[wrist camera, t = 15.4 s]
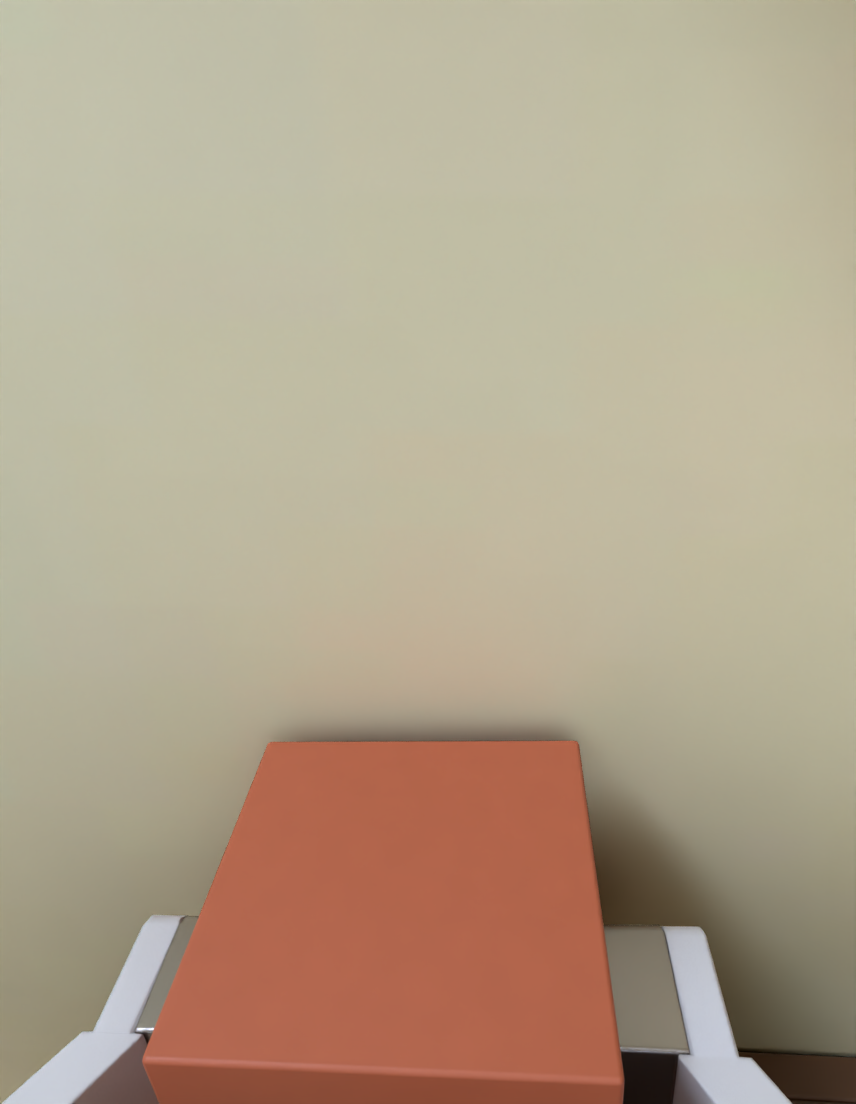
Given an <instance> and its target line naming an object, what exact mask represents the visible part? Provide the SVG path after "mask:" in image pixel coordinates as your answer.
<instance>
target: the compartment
mask: <svg viewBox="0 0 856 1104" xmlns="http://www.w3.org/2000/svg"><path fill="white" fill-rule="evenodd" d="M738 1054H739V1057H748V1058H752V1059H753V1060H754V1061H755V1062H756V1063H757V1064H758V1065H759V1066H760V1068H761V1069H762V1070H763V1071H764V1072H765V1073H766V1074H767V1075H768V1077H769V1078H770V1079H771V1080H772V1081H773V1082H774V1083H775V1085H776V1086H777V1087H778V1088H779V1089H780V1090H781V1091H782V1092H783V1094H784V1095H785V1096H786V1097H787V1098H788V1099H789V1100H790V1101H791V1103H792V1104H856V1058H854V1057H834V1056H814V1055H794V1054H773V1053H753V1052H738Z"/></svg>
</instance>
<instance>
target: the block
mask: <svg viewBox="0 0 856 1104" xmlns="http://www.w3.org/2000/svg"><path fill="white" fill-rule="evenodd" d="M142 1063H143V1066H144V1068H145V1071H146V1073H147V1075H148V1078H149V1080H150V1083H151V1085H152V1087H153V1090H154V1092H155V1095H156V1097H157V1099H158V1102H159V1104H623V1096H624V1081H625V1079H624V1072H623V1064H622V1057H621V1050H620V1042H619V1035H618V1028H617V1020H616V1013H615V1006H614V998H613V991H612V984H611V976H610V969H609V962H608V954H607V947H606V940H605V932H604V925H603V918H602V910H601V903H600V896H599V888H598V881H597V874H596V866H595V859H594V852H593V844H592V837H591V830H590V822H589V815H588V808H587V800H586V793H585V786H584V778H583V771H582V764H581V756H580V749H579V744H578V742H577V741H385V742H270V743H268V745H267V747H266V750H265V752H264V755H263V757H262V760H261V762H260V765H259V767H258V770H257V772H256V775H255V777H254V780H253V782H252V785H251V787H250V790H249V792H248V795H247V797H246V800H245V802H244V805H243V807H242V810H241V812H240V815H239V817H238V820H237V822H236V825H235V827H234V830H233V832H232V835H231V837H230V840H229V842H228V845H227V847H226V850H225V852H224V855H223V857H222V860H221V862H220V865H219V867H218V870H217V872H216V875H215V877H214V880H213V882H212V885H211V887H210V890H209V892H208V895H207V898H206V900H205V903H204V905H203V908H202V910H201V913H200V915H199V918H198V920H197V923H196V925H195V928H194V930H193V933H192V935H191V938H190V940H189V943H188V945H187V948H186V950H185V953H184V955H183V958H182V960H181V963H180V965H179V968H178V970H177V973H176V975H175V978H174V980H173V983H172V985H171V988H170V990H169V993H168V995H167V998H166V1000H165V1003H164V1005H163V1008H162V1010H161V1013H160V1015H159V1018H158V1020H157V1023H156V1025H155V1028H154V1030H153V1033H152V1035H151V1038H150V1040H149V1043H148V1045H147V1048H146V1050H145V1053H144V1055H143V1060H142Z"/></svg>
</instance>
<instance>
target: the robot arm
mask: <svg viewBox="0 0 856 1104" xmlns="http://www.w3.org/2000/svg"><path fill="white" fill-rule="evenodd" d="M198 918H199V916H185V915H152V916H151V917H150V918H149V919H148V920H147V922H146V923H145V924H144V925H143V926H142V928H141V930H140V932H139V934H138V936H137V939H136V941H135V943H134V945H133V947H132V949H131V951H130V953H129V956H128V958H127V960H126V962H125V964H124V966H123V968H122V970H121V973H120V975H119V977H118V979H117V981H116V983H115V985H114V987H113V990H112V992H111V994H110V996H109V998H108V1000H107V1002H106V1004H105V1006H104V1009H103V1011H102V1013H101V1015H100V1017H99V1019H98V1021H97V1023H96V1026H95V1028H94V1030H93V1031H82V1032H81V1033H80V1034H79V1035H78V1036H77V1037H75V1038H74V1039H73V1040H72V1041H71V1042H70V1043H69V1044H68V1045H66V1046H65V1047H64V1048H63V1049H62V1050H61V1051H60V1052H59V1053H57V1054H56V1055H55V1056H54V1057H53V1058H52V1059H51V1060H49V1061H48V1062H47V1063H46V1064H45V1065H44V1066H43V1067H42V1068H40V1069H39V1070H38V1071H37V1072H36V1073H35V1074H34V1075H33V1076H31V1077H30V1078H29V1079H28V1080H27V1081H26V1082H25V1083H24V1084H22V1085H21V1086H20V1087H19V1088H18V1089H17V1090H16V1091H15V1092H13V1093H12V1094H11V1095H10V1096H9V1097H8V1098H7V1099H6V1100H4V1101H3V1102H2V1103H1V1104H159V1102H158V1099H157V1097H156V1095H155V1092H154V1090H153V1087H152V1085H151V1083H150V1080H149V1078H148V1075H147V1073H146V1071H145V1068H144V1066H143V1063H142V1060H143V1055H144V1053H145V1050H146V1048H147V1045H148V1043H149V1040H150V1038H151V1035H152V1033H153V1030H154V1028H155V1025H156V1023H157V1020H158V1018H159V1015H160V1013H161V1010H162V1008H163V1005H164V1003H165V1000H166V998H167V995H168V993H169V990H170V988H171V985H172V983H173V980H174V978H175V975H176V973H177V970H178V968H179V965H180V963H181V960H182V958H183V955H184V953H185V950H186V948H187V945H188V943H189V940H190V938H191V935H192V933H193V930H194V928H195V925H196V923H197V920H198ZM604 932H605V940H606V947H607V954H608V962H609V969H610V976H611V984H612V991H613V998H614V1006H615V1013H616V1020H617V1028H618V1035H619V1042H620V1050H621V1057H622V1064H623V1072H624V1079H625V1081H624V1096H623V1104H792V1103H791V1101H790V1100H789V1099H788V1098H787V1097H786V1096H785V1095H784V1094H783V1092H782V1091H781V1090H780V1089H779V1088H778V1087H777V1086H776V1085H775V1083H774V1082H773V1081H772V1080H771V1079H770V1078H769V1077H768V1075H767V1074H766V1073H765V1072H764V1071H763V1070H762V1069H761V1068H760V1066H759V1065H758V1064H757V1063H756V1062H755V1061H754V1060H753V1059H752V1058H748V1057H739V1054H738V1050H737V1047H736V1043H735V1039H734V1036H733V1032H732V1028H731V1025H730V1021H729V1017H728V1014H727V1010H726V1006H725V1003H724V999H723V995H722V992H721V988H720V984H719V981H718V977H717V973H716V970H715V966H714V962H713V959H712V955H711V951H710V948H709V944H708V940H707V936H706V934H705V933H704V931H703V930H702V928H701V927H699V926H661V927H660V925H604Z"/></svg>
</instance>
